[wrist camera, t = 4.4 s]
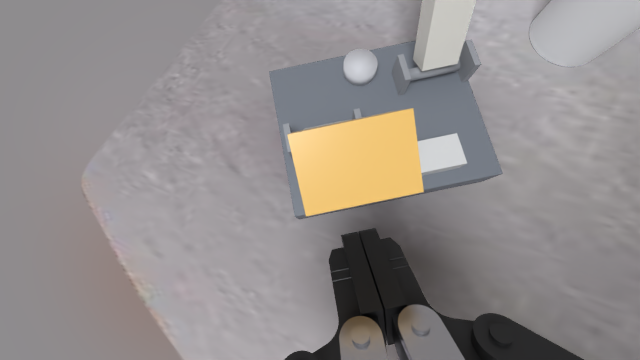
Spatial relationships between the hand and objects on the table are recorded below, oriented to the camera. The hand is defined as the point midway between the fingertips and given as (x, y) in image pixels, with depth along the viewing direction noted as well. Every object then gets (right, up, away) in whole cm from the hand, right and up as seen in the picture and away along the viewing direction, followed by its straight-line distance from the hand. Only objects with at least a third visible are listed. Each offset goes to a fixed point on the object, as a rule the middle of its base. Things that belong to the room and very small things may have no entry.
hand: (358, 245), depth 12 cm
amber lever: (-1, +7, +11) cm, 12 cm away
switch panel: (+4, +8, +15) cm, 17 cm away
